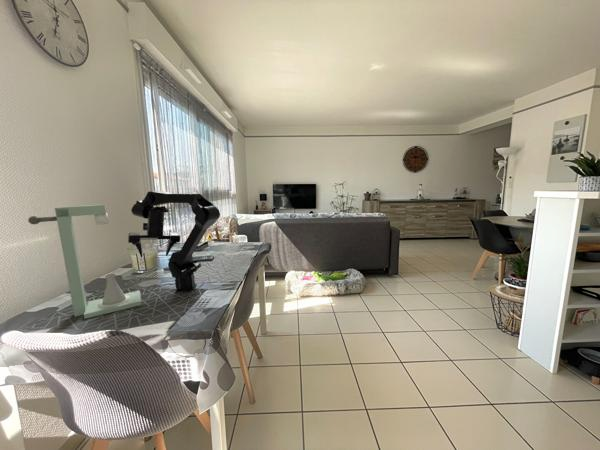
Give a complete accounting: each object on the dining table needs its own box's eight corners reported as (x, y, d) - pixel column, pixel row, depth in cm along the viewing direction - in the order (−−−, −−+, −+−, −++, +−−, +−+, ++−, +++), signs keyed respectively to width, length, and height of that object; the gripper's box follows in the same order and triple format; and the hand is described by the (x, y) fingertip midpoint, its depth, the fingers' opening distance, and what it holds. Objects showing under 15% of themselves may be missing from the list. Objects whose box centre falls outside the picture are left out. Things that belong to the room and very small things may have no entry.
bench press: (140, 294, 102) (127, 202, 97) (141, 304, 92) (127, 204, 87) (53, 313, 88) (32, 208, 83) (43, 328, 78) (19, 210, 73)
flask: (123, 303, 90) (118, 276, 89) (98, 307, 88) (93, 279, 86) (128, 295, 97) (125, 270, 96) (106, 298, 95) (102, 272, 93)
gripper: (177, 217, 117) (175, 249, 120) (129, 215, 107) (128, 250, 110) (181, 223, 108) (179, 258, 111) (128, 222, 98) (127, 260, 101)
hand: (154, 256), depth 109 cm, fingers open, 9 cm apart
